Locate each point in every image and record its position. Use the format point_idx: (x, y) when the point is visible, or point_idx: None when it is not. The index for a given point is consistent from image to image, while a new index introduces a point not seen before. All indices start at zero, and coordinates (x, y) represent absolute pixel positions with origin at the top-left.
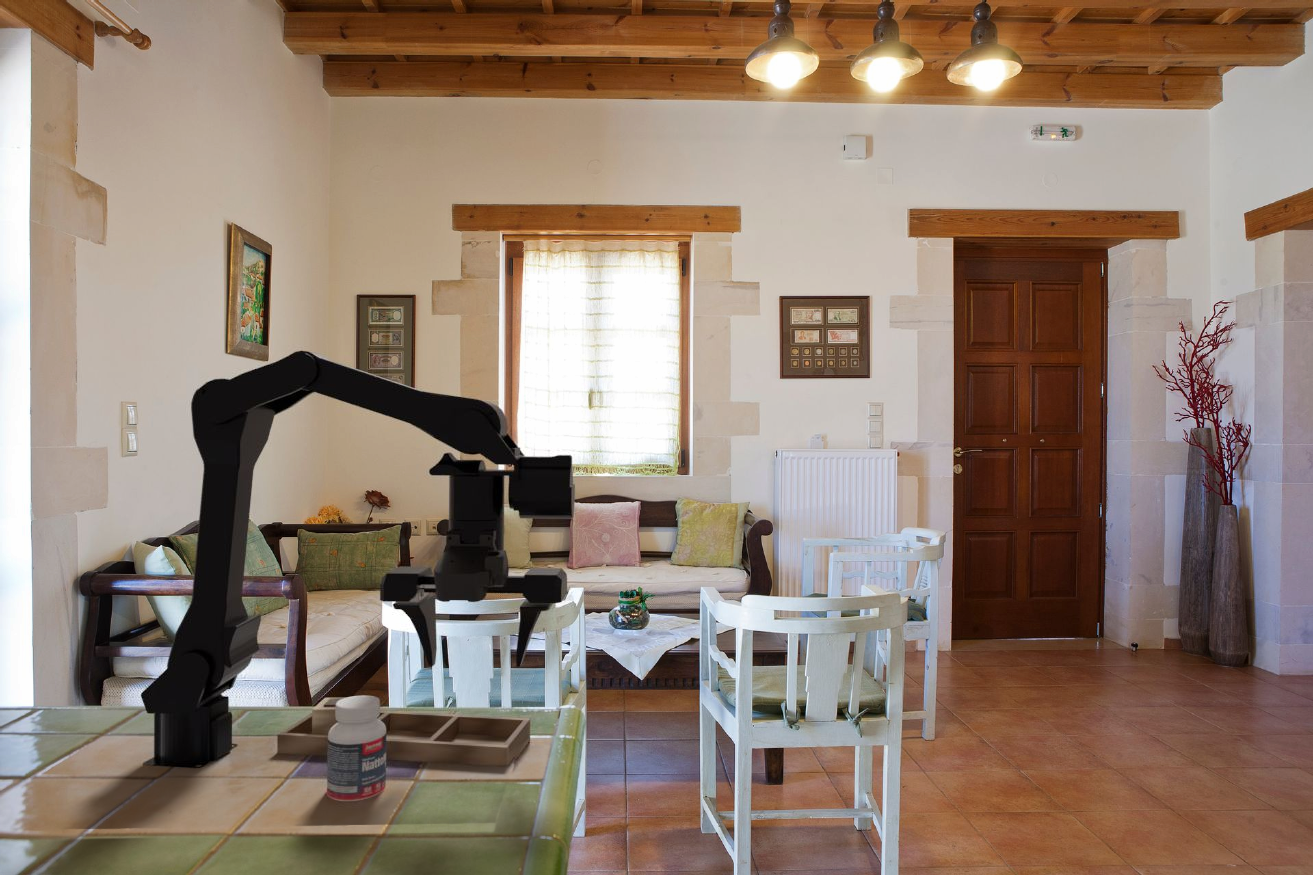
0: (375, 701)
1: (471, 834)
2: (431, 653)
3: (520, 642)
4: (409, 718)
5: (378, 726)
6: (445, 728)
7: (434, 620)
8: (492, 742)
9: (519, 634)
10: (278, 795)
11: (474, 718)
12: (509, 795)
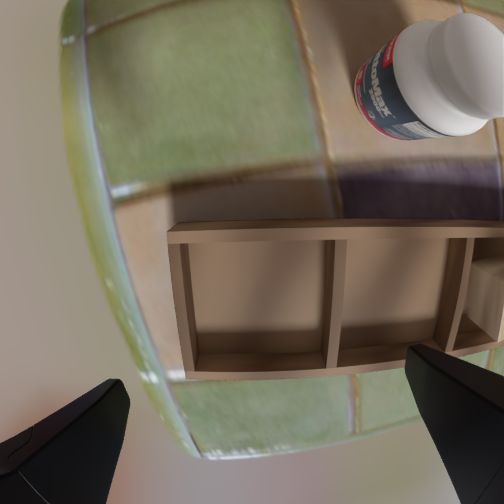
0: (456, 58)
1: (160, 10)
2: (429, 361)
3: (63, 420)
4: None
5: (412, 59)
6: (332, 309)
7: (464, 486)
8: (245, 325)
9: (48, 438)
10: None
11: (293, 368)
12: (142, 133)
